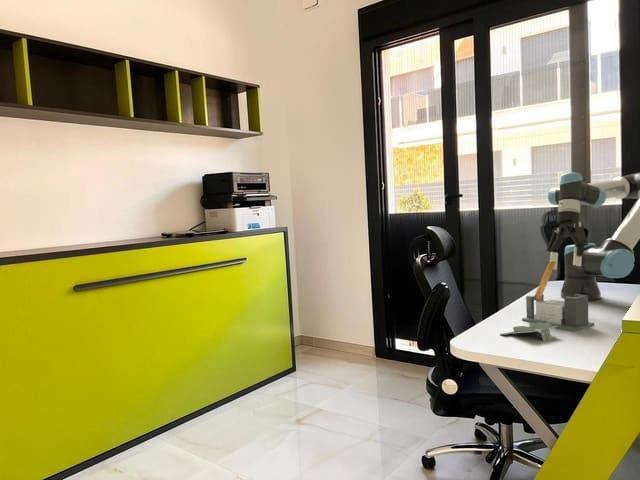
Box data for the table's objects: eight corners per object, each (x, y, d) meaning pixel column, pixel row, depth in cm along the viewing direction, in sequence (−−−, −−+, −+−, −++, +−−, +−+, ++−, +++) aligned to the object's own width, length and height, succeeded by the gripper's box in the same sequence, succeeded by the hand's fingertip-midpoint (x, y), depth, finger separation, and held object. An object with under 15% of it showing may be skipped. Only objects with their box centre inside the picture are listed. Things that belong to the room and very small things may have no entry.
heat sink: (524, 317, 176) (524, 296, 175) (541, 313, 180) (540, 293, 179) (561, 325, 163) (560, 302, 162) (577, 320, 167) (577, 298, 167)
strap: (535, 300, 175) (532, 298, 176) (540, 299, 176) (537, 297, 177) (551, 263, 168) (547, 261, 169) (556, 262, 169) (553, 260, 170)
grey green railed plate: (522, 320, 175) (522, 318, 175) (543, 315, 181) (543, 312, 181) (572, 331, 158) (572, 329, 158) (594, 325, 164) (594, 322, 164)
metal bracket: (563, 319, 153) (528, 326, 147) (568, 337, 152) (532, 345, 146) (529, 322, 166) (495, 329, 160) (533, 339, 165) (499, 346, 159)
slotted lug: (564, 325, 163) (564, 296, 162) (577, 321, 166) (576, 294, 166) (575, 327, 160) (575, 298, 159) (588, 323, 163) (588, 295, 162)
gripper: (539, 217, 195) (535, 268, 191) (582, 203, 170) (578, 261, 167) (556, 220, 196) (552, 272, 192) (601, 207, 171) (597, 265, 168)
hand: (564, 267), depth 179 cm, fingers open, 13 cm apart
